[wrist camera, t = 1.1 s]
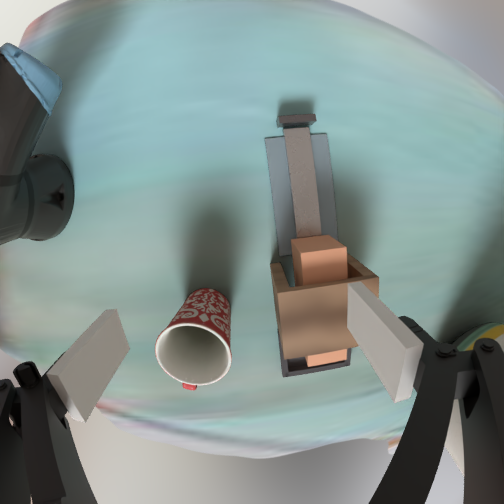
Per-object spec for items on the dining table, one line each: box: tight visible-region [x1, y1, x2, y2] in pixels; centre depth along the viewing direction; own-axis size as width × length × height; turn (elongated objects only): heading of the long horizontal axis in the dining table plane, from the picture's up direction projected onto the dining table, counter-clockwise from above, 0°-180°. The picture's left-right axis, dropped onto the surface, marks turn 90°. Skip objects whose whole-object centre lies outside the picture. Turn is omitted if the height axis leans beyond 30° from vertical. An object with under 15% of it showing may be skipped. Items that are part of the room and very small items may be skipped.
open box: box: [270, 253, 379, 360], centre depth 37 cm, size 9×12×12 cm
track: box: [276, 114, 322, 239], centre depth 39 cm, size 31×5×3 cm, turn 8°
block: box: [291, 235, 348, 367], centre depth 37 cm, size 16×6×8 cm, turn 8°
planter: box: [444, 323, 504, 476], centre depth 34 cm, size 27×27×27 cm
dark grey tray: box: [278, 329, 351, 377], centre depth 44 cm, size 9×12×2 cm
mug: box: [155, 288, 232, 390], centre depth 37 cm, size 13×9×14 cm
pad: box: [265, 134, 338, 256], centre depth 39 cm, size 17×9×1 cm, turn 8°
